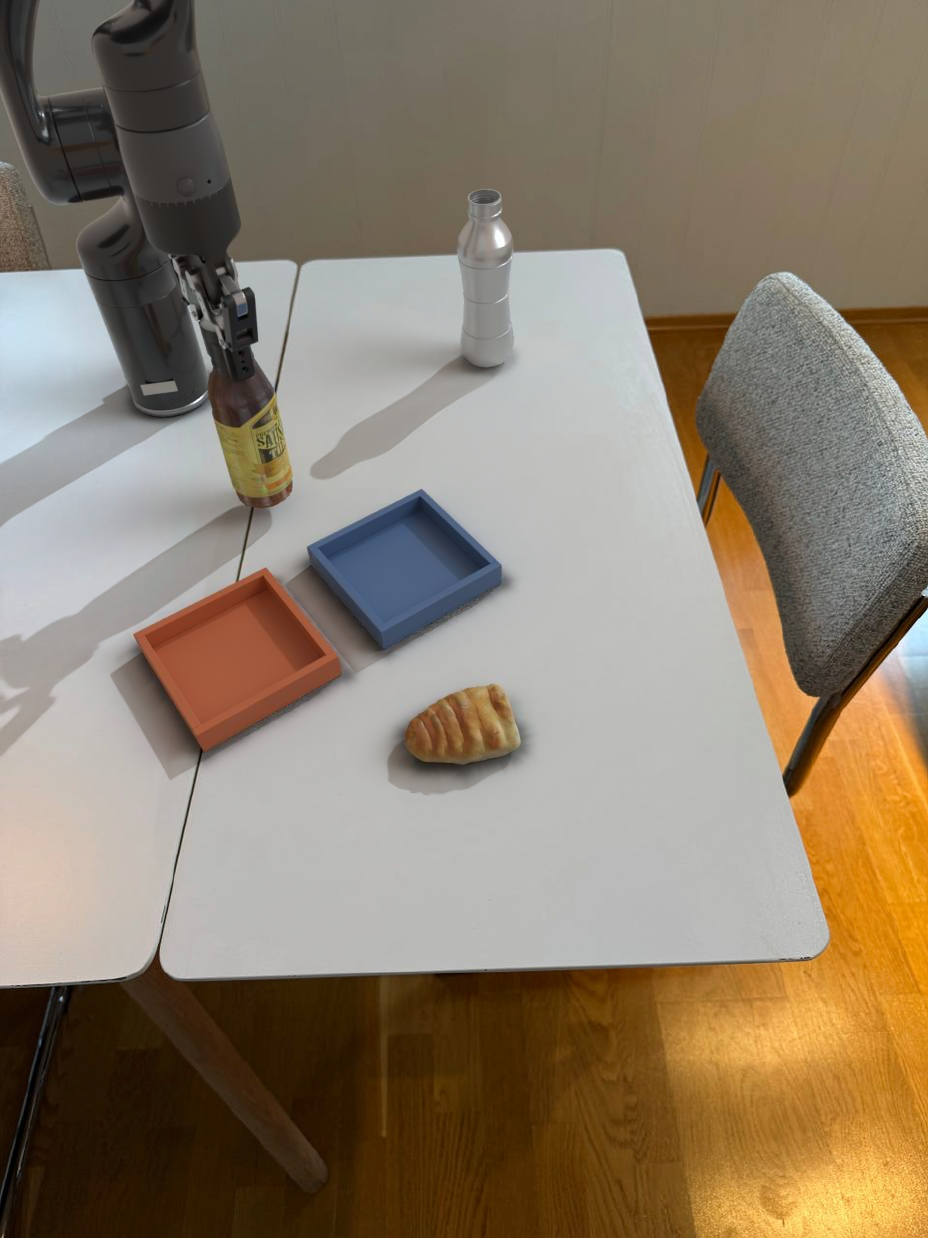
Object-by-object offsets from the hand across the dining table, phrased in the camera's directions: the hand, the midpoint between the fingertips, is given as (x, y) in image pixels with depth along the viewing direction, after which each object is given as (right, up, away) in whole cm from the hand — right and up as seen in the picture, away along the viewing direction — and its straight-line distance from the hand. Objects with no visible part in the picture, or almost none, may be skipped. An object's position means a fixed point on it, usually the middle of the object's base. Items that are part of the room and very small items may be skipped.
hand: (231, 365), depth 82 cm
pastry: (+22, -33, -6) cm, 40 cm away
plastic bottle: (+24, +9, +29) cm, 39 cm away
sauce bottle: (+1, -10, +12) cm, 15 cm away
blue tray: (+15, -19, +6) cm, 25 cm away
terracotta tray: (+1, -27, 0) cm, 27 cm away
